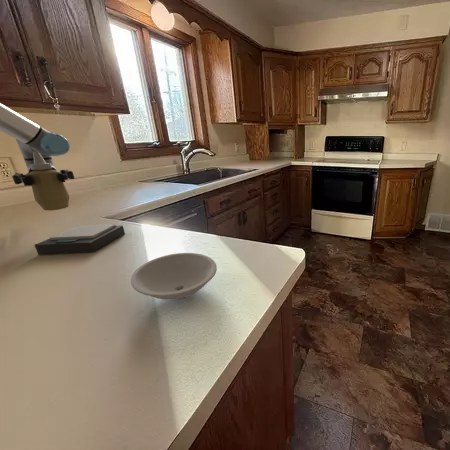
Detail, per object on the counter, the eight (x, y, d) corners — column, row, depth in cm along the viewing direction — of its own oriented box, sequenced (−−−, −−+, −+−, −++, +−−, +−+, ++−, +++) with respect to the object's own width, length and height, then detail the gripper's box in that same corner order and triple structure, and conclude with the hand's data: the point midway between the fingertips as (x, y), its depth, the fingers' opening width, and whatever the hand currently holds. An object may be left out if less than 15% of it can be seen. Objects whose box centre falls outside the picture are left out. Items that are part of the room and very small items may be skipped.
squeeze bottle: (74, 208, 80) (55, 151, 74) (39, 213, 75) (15, 152, 69) (71, 204, 86) (53, 150, 80) (38, 209, 80) (16, 152, 74)
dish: (236, 292, 48) (233, 270, 47) (159, 334, 38) (151, 308, 37) (193, 265, 60) (190, 246, 58) (125, 292, 49) (118, 270, 48)
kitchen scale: (38, 254, 68) (32, 242, 66) (78, 235, 81) (74, 225, 80) (94, 252, 68) (89, 239, 67) (125, 233, 81) (122, 223, 80)
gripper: (81, 180, 97) (90, 187, 81) (8, 188, 83) (2, 197, 68) (75, 161, 94) (83, 164, 79) (-2, 165, 81) (-10, 170, 66)
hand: (46, 179), depth 74 cm, fingers closed on squeeze bottle, 6 cm apart
